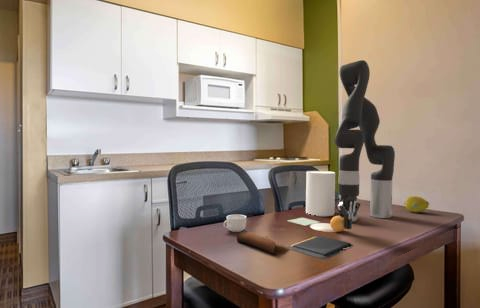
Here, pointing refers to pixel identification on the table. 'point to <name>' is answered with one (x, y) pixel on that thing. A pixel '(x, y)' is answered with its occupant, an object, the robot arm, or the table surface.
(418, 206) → the lemon
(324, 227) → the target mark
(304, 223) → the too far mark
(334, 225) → the ball
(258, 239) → the sunglasses case
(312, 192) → the canister
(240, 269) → the table surface
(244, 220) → the teacup
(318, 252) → the wallet
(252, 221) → the table surface
